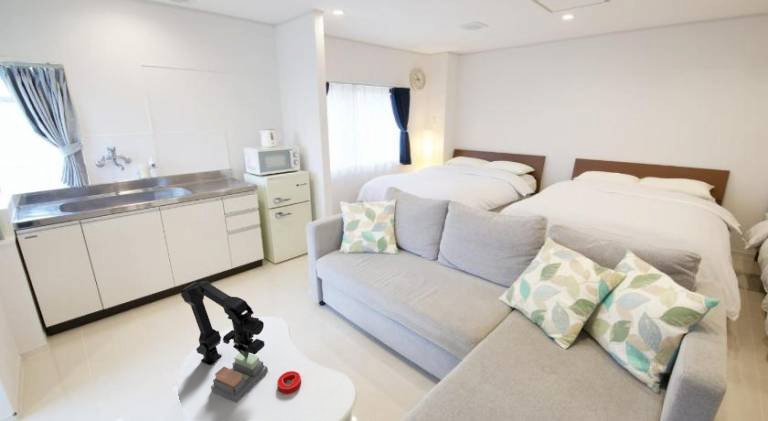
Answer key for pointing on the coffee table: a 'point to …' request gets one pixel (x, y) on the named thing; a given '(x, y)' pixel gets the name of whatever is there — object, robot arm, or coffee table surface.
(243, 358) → the sage button
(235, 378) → the orange brown block
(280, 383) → the decorative ornament
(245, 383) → the button panel
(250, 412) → the coffee table surface
